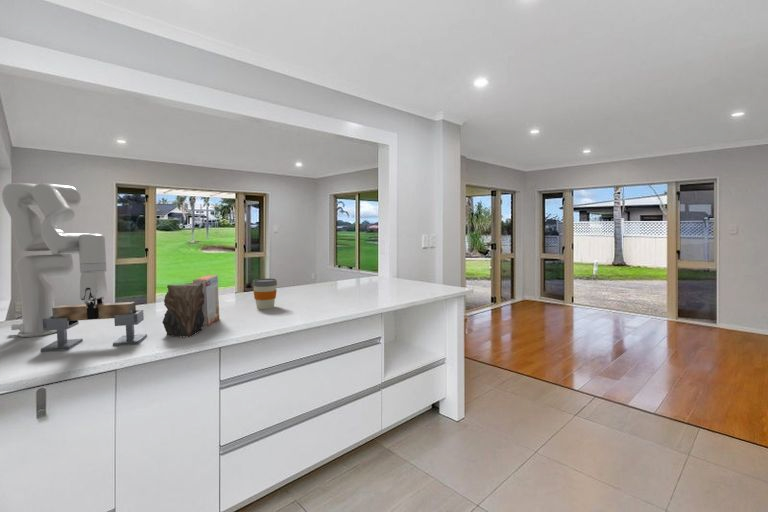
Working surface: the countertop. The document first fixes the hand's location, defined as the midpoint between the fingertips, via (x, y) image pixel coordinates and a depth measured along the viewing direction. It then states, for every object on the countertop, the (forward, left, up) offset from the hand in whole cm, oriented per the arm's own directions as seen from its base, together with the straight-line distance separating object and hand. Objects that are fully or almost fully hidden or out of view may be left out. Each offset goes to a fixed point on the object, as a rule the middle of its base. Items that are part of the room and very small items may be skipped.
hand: (96, 316), depth 133 cm
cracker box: (+34, +21, -10) cm, 41 cm away
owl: (+28, +5, -10) cm, 30 cm away
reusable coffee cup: (+59, +48, -10) cm, 77 cm away
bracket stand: (0, 0, -10) cm, 10 cm away
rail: (0, 0, 0) cm, 0 cm away
